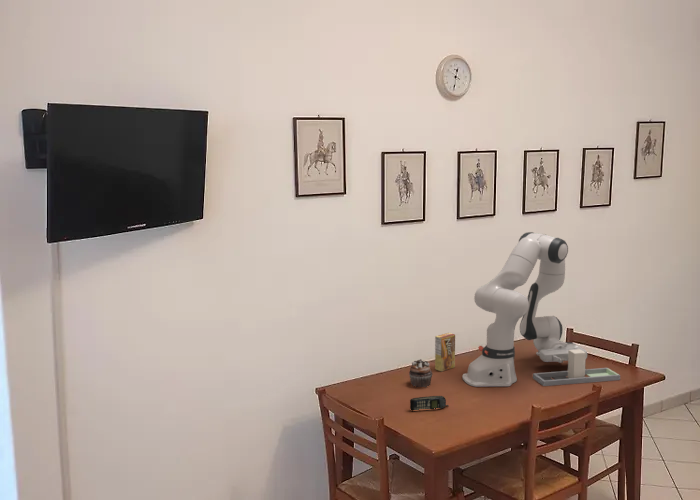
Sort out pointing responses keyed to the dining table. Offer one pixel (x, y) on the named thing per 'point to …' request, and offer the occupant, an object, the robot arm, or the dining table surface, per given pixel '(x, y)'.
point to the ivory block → (576, 363)
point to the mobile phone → (427, 402)
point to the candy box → (444, 351)
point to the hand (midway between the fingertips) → (572, 360)
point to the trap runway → (561, 378)
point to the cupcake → (420, 373)
